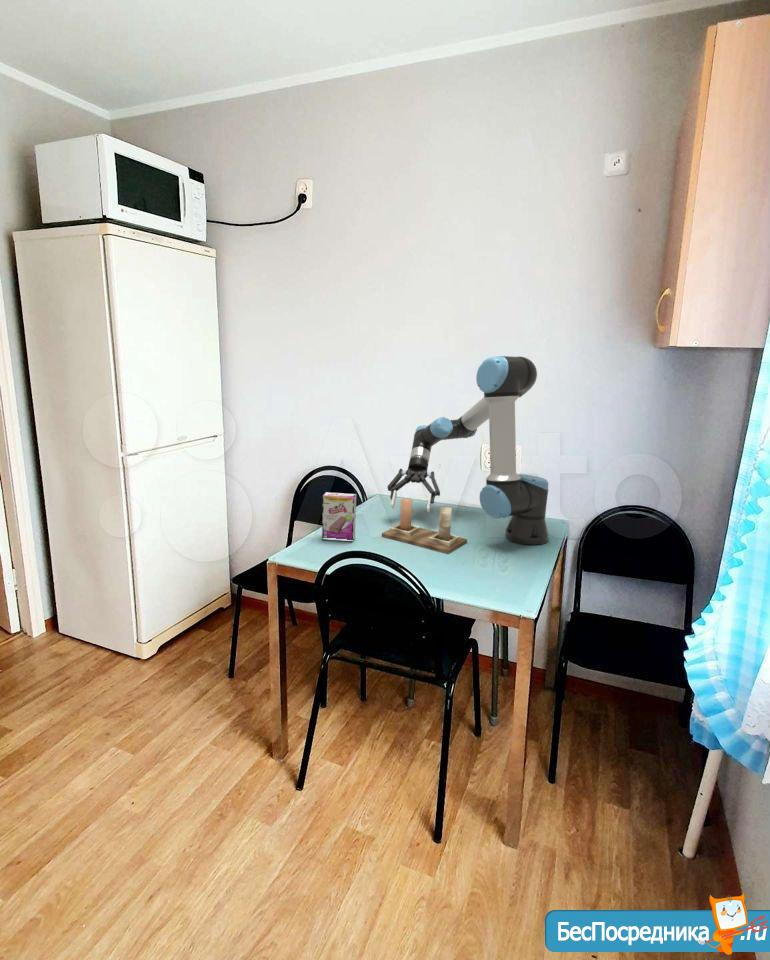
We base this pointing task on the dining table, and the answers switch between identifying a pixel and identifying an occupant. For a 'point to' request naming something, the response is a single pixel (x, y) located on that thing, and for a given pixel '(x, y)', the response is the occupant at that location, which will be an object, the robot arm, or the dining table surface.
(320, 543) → the dining table surface
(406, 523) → the peg
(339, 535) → the candy bar box
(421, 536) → the board
